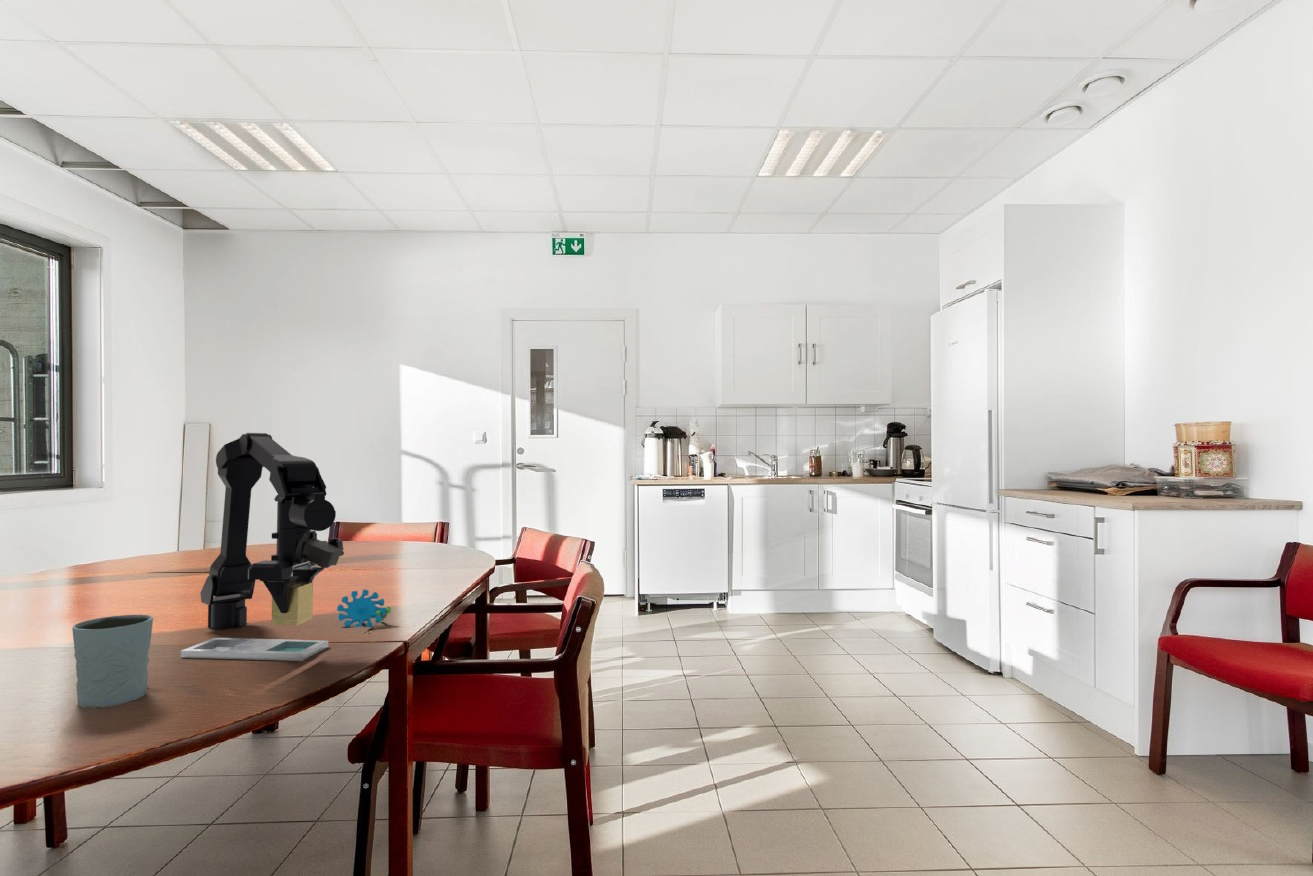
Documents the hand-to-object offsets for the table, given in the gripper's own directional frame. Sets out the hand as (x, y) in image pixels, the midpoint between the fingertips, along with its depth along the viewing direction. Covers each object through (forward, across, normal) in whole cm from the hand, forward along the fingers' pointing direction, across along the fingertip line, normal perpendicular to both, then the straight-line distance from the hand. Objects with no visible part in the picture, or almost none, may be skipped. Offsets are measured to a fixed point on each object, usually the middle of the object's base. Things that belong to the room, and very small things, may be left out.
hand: (292, 609), depth 133 cm
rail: (+9, 0, +7) cm, 11 cm away
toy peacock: (+9, +24, -2) cm, 25 cm away
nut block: (+2, 0, 0) cm, 2 cm away
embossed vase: (+9, -23, +15) cm, 29 cm away
